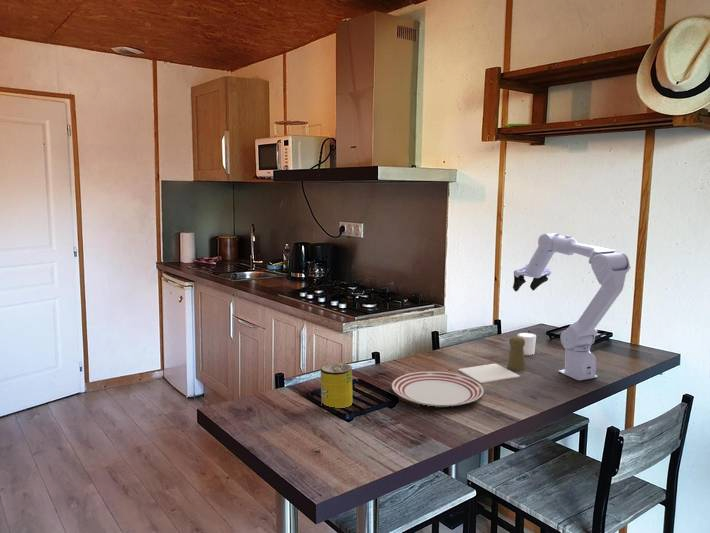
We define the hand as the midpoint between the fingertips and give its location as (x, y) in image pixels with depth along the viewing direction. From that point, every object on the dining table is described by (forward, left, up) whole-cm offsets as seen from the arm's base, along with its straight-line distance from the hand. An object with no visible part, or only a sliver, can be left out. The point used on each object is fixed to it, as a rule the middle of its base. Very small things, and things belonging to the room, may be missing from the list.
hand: (523, 289), depth 202 cm
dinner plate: (-24, +49, -25) cm, 60 cm away
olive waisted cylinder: (-13, +12, -25) cm, 31 cm away
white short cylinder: (0, -2, -25) cm, 25 cm away
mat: (-14, +24, -24) cm, 37 cm away
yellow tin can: (-21, +80, -25) cm, 87 cm away
